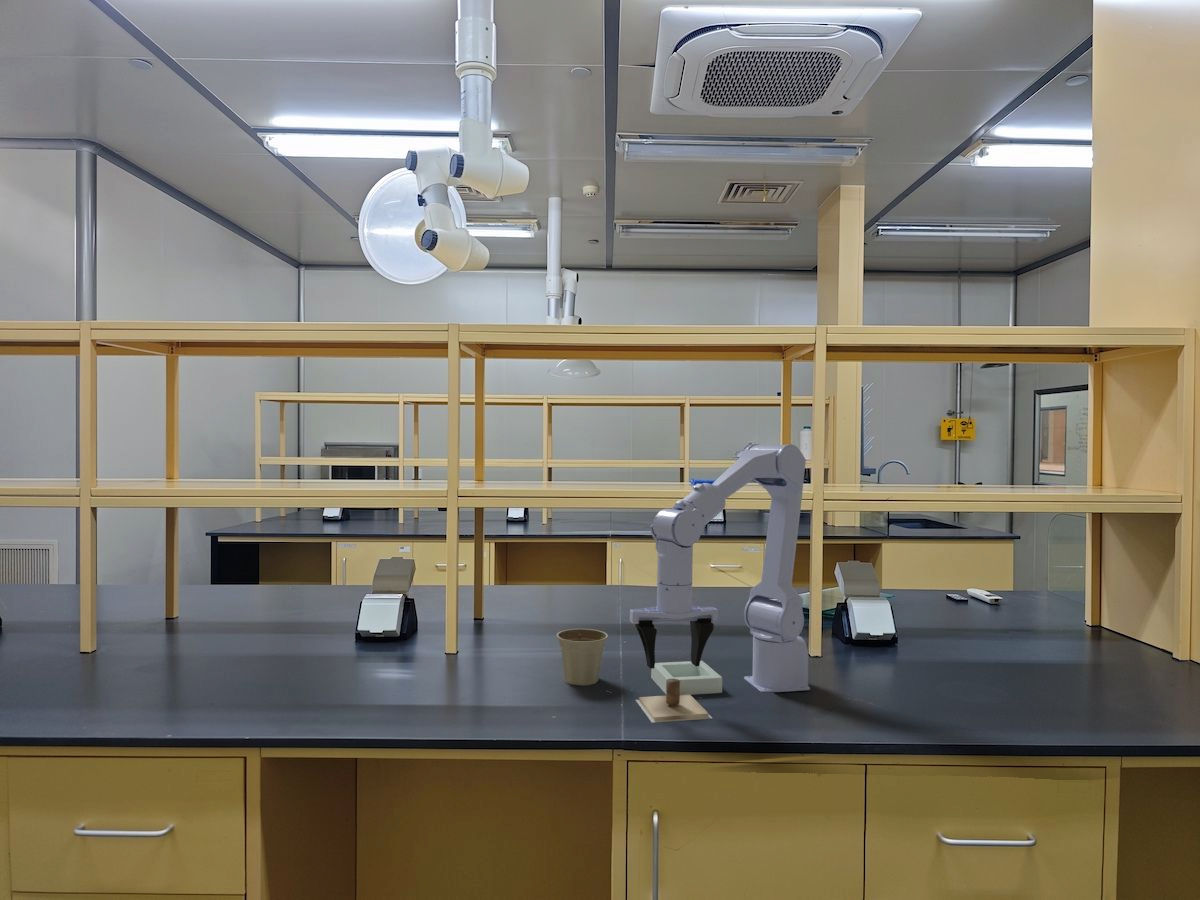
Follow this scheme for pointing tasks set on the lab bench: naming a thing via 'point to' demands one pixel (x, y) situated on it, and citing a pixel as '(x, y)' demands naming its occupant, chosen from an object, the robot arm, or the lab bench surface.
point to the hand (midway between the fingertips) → (673, 665)
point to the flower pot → (581, 655)
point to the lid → (673, 704)
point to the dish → (688, 677)
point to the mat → (667, 720)
